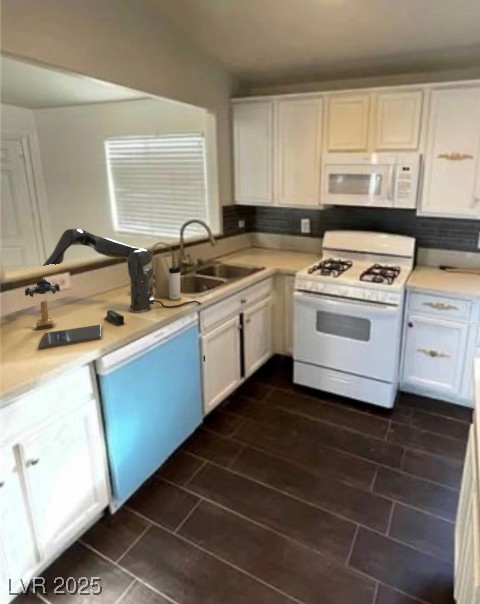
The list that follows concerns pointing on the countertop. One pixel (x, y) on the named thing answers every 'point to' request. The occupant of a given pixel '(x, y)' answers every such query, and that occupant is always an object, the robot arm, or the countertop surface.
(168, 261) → the tall beige box
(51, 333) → the slate board
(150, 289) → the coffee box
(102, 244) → the robot arm
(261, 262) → the countertop surface
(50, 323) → the brush
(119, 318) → the dark green rounded bar
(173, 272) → the travel mug
